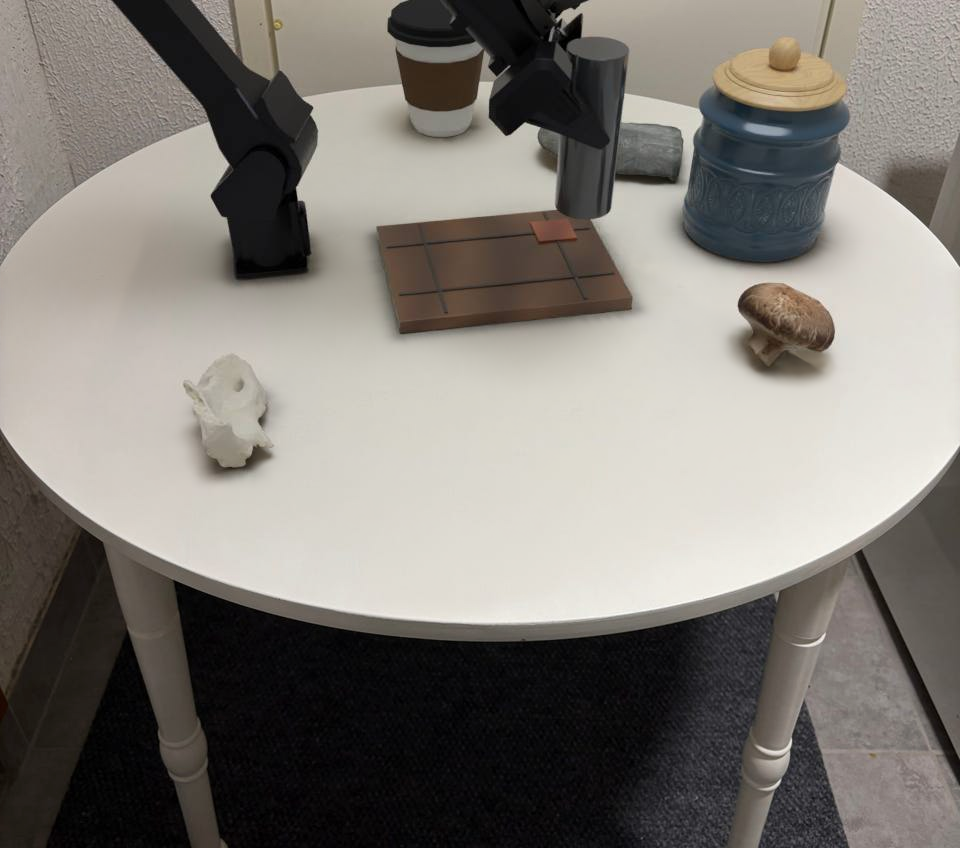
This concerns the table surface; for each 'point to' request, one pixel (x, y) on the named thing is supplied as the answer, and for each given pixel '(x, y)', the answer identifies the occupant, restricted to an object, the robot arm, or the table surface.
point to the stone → (637, 149)
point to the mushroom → (784, 320)
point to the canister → (765, 154)
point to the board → (498, 270)
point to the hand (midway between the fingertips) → (606, 131)
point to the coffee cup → (435, 67)
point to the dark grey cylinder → (603, 85)
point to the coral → (229, 410)
